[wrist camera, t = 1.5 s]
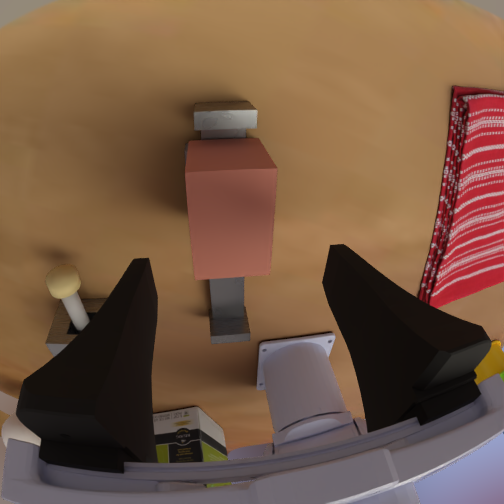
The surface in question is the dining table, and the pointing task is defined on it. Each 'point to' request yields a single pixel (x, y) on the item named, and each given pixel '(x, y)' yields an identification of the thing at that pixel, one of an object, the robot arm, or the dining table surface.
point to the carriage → (230, 207)
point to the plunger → (68, 292)
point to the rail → (232, 289)
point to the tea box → (189, 438)
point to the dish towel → (469, 201)
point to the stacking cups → (491, 363)
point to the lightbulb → (18, 431)
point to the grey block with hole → (68, 325)
